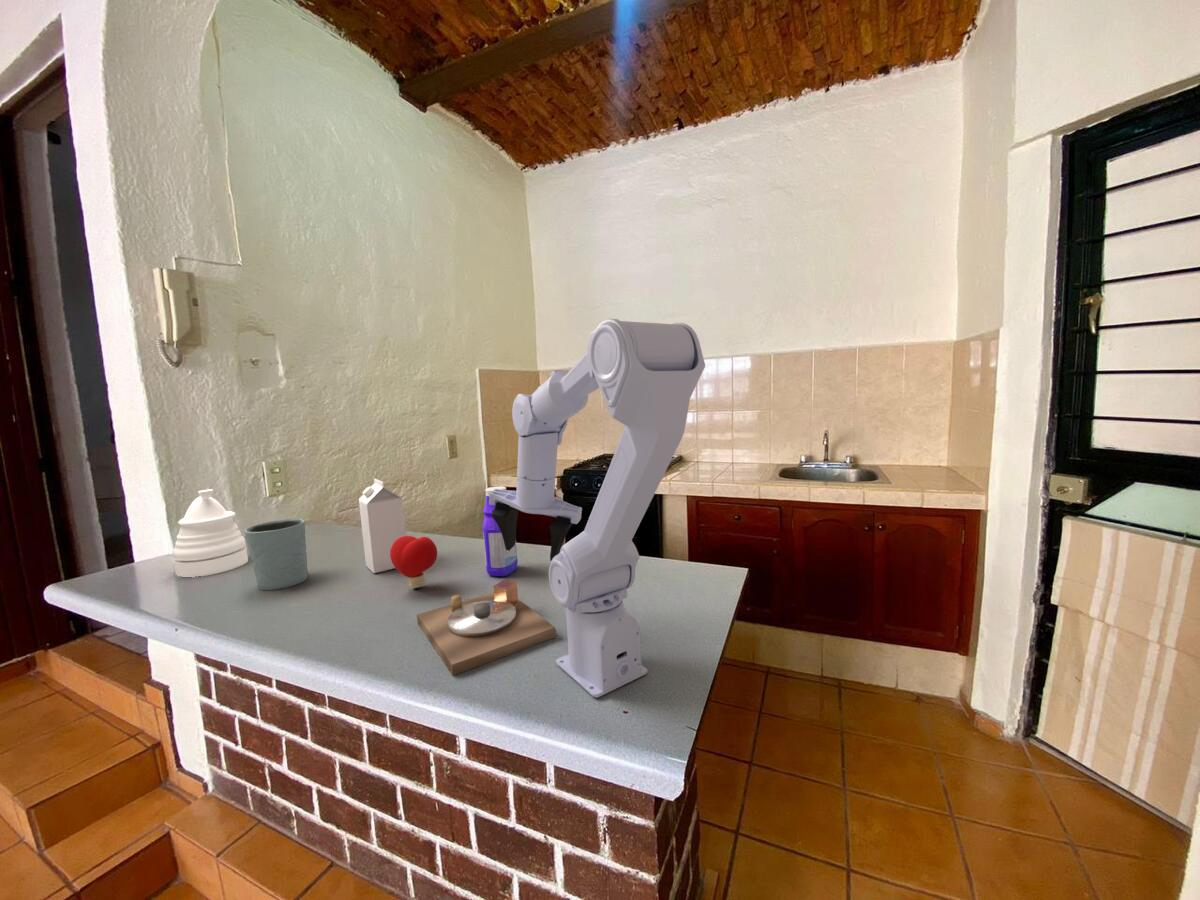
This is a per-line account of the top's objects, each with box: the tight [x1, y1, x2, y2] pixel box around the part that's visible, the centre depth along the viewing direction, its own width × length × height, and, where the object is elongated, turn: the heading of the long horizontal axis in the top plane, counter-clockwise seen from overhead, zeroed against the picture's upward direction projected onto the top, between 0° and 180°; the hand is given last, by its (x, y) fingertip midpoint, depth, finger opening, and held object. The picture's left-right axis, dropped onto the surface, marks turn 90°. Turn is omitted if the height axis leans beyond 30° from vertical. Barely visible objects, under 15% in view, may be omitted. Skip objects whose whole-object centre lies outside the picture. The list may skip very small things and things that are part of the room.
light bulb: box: [390, 535, 438, 590], centre depth 88 cm, size 9×7×10 cm
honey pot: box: [172, 488, 249, 578], centre depth 106 cm, size 13×13×18 cm
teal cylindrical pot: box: [244, 518, 309, 591], centre depth 95 cm, size 10×10×12 cm
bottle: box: [482, 485, 519, 578], centre depth 94 cm, size 7×6×17 cm
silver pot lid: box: [448, 578, 519, 637], centre depth 72 cm, size 12×10×3 cm
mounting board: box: [416, 591, 557, 677], centre depth 71 cm, size 18×15×4 cm
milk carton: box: [358, 478, 407, 574], centre depth 101 cm, size 7×7×19 cm
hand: (532, 552), depth 74 cm, fingers open, 7 cm apart
